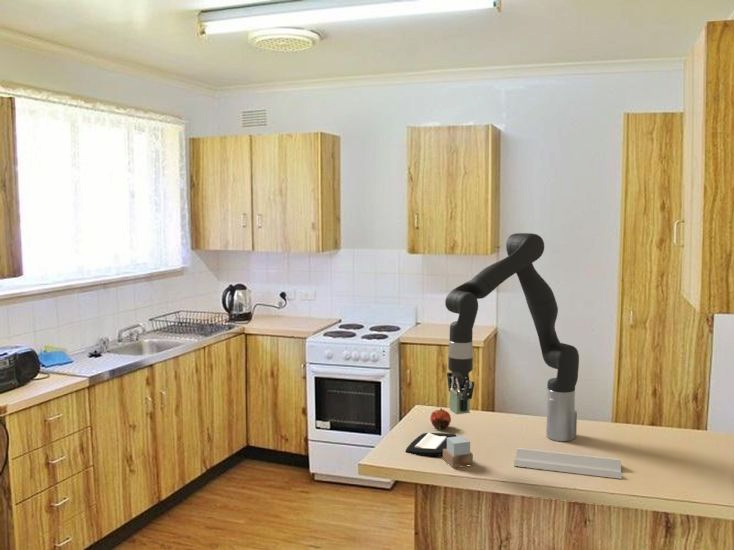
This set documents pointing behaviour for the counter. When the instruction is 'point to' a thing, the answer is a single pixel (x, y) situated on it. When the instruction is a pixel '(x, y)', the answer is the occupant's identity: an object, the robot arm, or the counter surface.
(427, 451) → the black flat rectangular tray
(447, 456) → the base block
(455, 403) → the tea tin
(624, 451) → the counter surface
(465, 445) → the mid block
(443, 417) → the pomegranate
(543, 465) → the crown molding
